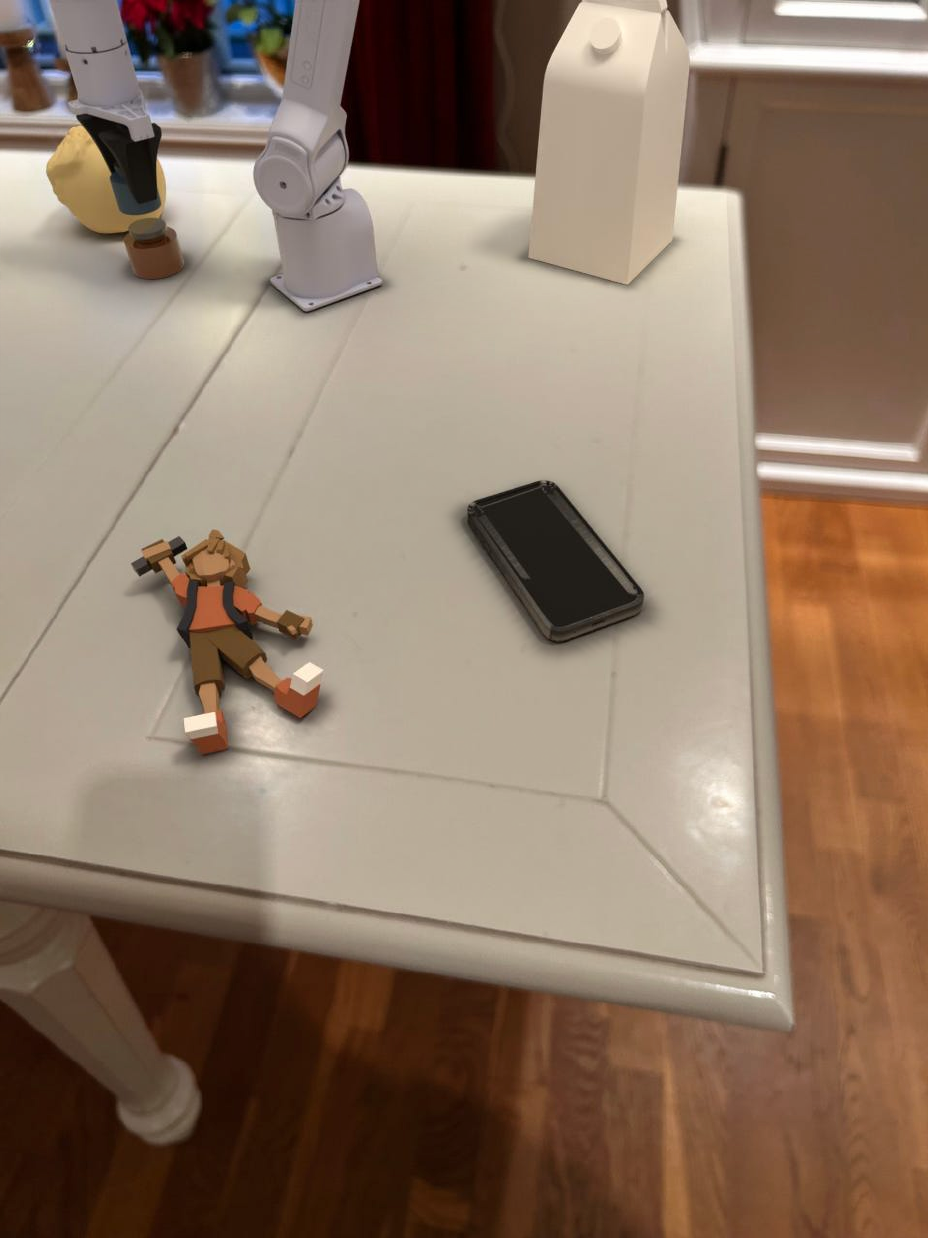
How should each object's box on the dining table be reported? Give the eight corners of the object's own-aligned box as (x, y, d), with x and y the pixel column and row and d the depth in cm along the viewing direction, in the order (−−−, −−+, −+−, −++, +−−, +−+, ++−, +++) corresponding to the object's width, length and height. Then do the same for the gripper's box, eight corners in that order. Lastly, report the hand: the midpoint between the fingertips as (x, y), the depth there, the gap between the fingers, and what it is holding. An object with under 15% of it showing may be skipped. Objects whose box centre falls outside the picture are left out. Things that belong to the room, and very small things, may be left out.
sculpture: (94, 199, 113) (64, 104, 105) (187, 203, 112) (164, 107, 104) (54, 242, 105) (18, 143, 97) (153, 247, 104) (125, 147, 96)
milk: (672, 240, 103) (714, -39, 83) (627, 284, 96) (661, -6, 77) (577, 216, 107) (596, -54, 88) (528, 257, 101) (537, -24, 81)
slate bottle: (151, 193, 98) (140, 150, 95) (168, 207, 96) (157, 163, 92) (112, 204, 96) (99, 161, 93) (128, 219, 94) (115, 175, 91)
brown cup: (171, 249, 104) (161, 209, 100) (192, 268, 101) (182, 227, 97) (124, 264, 101) (112, 223, 98) (144, 284, 98) (132, 242, 95)
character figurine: (130, 742, 55) (120, 522, 65) (152, 778, 59) (139, 566, 69) (329, 700, 56) (288, 492, 67) (337, 738, 60) (298, 537, 71)
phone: (550, 476, 73) (650, 599, 64) (549, 487, 74) (648, 610, 65) (461, 504, 71) (550, 635, 62) (461, 515, 72) (550, 646, 63)
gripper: (27, 33, 87) (75, 179, 97) (81, 73, 79) (127, 228, 89) (98, 18, 90) (138, 162, 100) (157, 56, 82) (193, 208, 92)
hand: (137, 192), depth 95 cm, fingers closed on slate bottle, 4 cm apart
